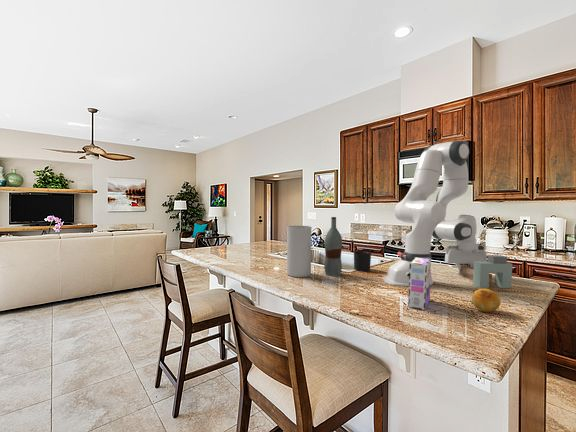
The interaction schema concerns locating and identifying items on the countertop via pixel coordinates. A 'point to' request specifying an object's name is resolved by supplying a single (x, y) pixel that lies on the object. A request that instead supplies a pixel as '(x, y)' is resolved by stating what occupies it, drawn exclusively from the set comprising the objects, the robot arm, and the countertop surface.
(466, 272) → the bar
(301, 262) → the cylinder vase
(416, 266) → the candy box
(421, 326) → the countertop surface
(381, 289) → the countertop surface
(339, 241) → the bottle
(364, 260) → the pen holder
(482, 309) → the fruit
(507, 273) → the grey-green arch block
